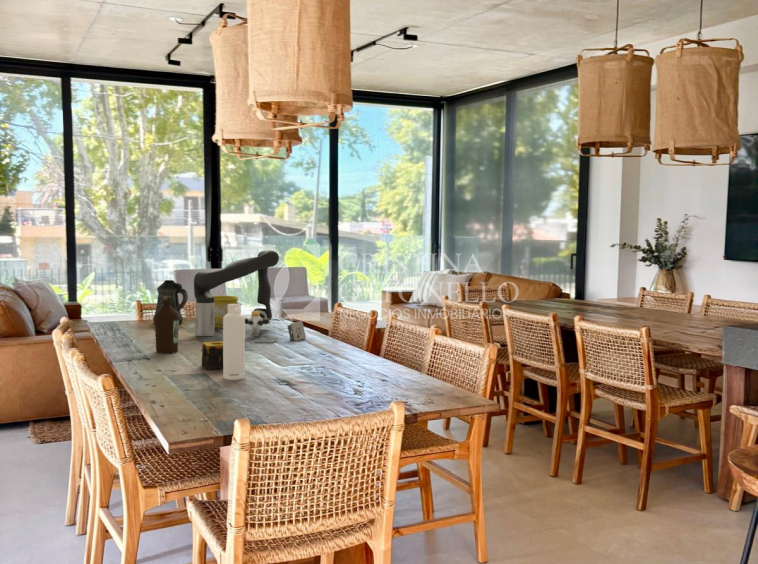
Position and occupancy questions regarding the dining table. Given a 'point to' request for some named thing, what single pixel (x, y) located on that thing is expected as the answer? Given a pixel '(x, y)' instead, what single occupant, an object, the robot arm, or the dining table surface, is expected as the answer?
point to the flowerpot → (222, 308)
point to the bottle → (233, 343)
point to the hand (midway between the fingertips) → (254, 322)
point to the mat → (265, 341)
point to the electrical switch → (296, 331)
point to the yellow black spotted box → (212, 355)
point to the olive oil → (166, 328)
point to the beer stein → (171, 296)
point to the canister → (255, 323)
